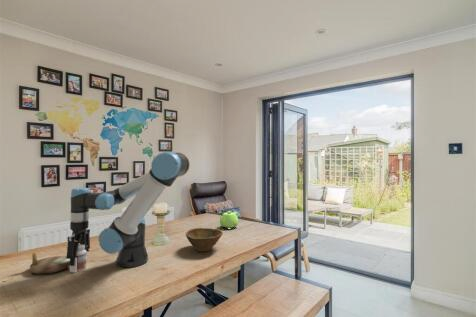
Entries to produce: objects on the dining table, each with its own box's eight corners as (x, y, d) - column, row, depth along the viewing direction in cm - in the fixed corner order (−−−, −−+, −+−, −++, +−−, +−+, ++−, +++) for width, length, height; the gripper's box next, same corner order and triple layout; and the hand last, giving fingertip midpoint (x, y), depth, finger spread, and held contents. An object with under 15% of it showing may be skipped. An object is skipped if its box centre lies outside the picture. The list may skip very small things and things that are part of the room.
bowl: (230, 249, 159) (231, 232, 159) (200, 259, 143) (201, 240, 142) (206, 240, 174) (207, 225, 174) (177, 249, 157) (177, 232, 157)
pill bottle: (69, 269, 127) (69, 245, 127) (83, 265, 131) (83, 242, 131) (73, 273, 123) (74, 249, 123) (88, 269, 127) (88, 245, 127)
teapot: (226, 231, 196) (227, 214, 196) (213, 228, 204) (214, 211, 204) (243, 226, 211) (243, 210, 211) (230, 223, 220) (231, 208, 220)
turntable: (73, 258, 137) (74, 244, 137) (67, 270, 123) (67, 255, 122) (36, 262, 131) (36, 248, 131) (24, 275, 116) (24, 260, 116)
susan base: (71, 267, 129) (71, 265, 129) (42, 276, 119) (42, 274, 119) (58, 261, 135) (58, 260, 135) (30, 269, 125) (30, 268, 125)
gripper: (84, 215, 137) (83, 260, 137) (57, 225, 117) (55, 277, 117) (98, 216, 137) (97, 260, 137) (73, 226, 117) (72, 278, 117)
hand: (78, 268), depth 127 cm, fingers open, 7 cm apart
